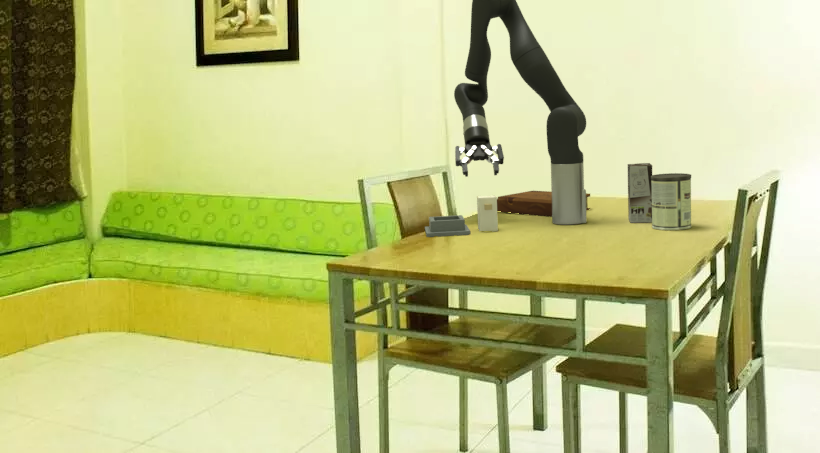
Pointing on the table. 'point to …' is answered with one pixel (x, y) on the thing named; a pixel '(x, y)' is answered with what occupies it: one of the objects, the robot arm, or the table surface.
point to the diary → (528, 203)
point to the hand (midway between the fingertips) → (481, 174)
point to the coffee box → (639, 192)
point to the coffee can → (671, 201)
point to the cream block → (487, 213)
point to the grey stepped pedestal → (447, 226)
